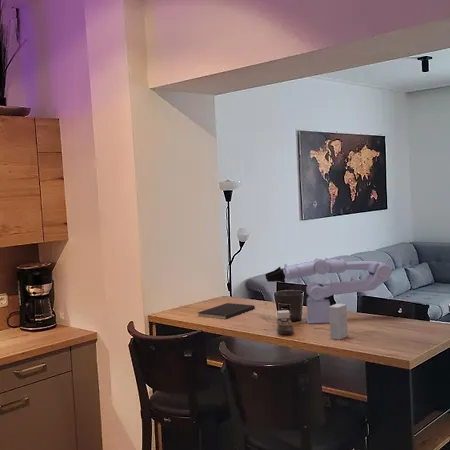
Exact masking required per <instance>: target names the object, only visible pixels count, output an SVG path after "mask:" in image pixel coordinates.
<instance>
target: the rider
mask: <svg viewBox="0 0 450 450" xmlns="http://www.w3.org/2000/svg"><path fill="white" fill-rule="evenodd" d="M276 314H277V318H278V319H281V321H287V318H290V319H291V317H290V316H291V314H290V310H288V309H283V310H277V313H276Z"/></svg>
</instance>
